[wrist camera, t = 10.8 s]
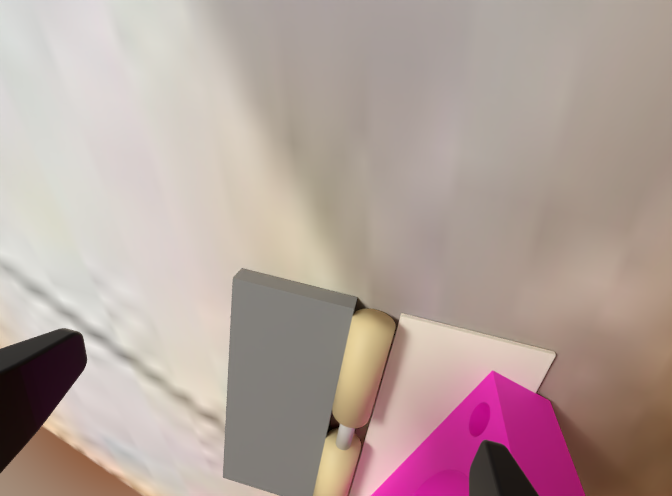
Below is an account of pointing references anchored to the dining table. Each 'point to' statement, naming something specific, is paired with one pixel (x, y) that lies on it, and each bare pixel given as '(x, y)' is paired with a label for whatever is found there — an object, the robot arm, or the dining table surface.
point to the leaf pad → (434, 388)
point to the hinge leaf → (299, 384)
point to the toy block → (495, 425)
